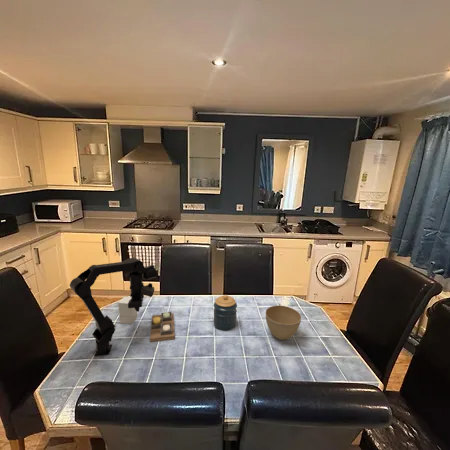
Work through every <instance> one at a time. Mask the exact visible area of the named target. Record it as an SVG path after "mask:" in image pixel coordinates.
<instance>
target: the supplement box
mask: <svg viewBox="0 0 450 450" xmlns="http://www.w3.org/2000/svg"><path fill="white" fill-rule="evenodd" d="M130 299H131V297H130V296H124V297H122V298H121V300H119V302H118V303H117V305H118V314H119V315H118V316H119V318H118V319H119V324H127V325H133V324H134V323H135V321H136V320H137V318H138V312H137V311H136V310H135V308H128V302H129V300H130Z"/></svg>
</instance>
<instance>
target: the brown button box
mask: <svg viewBox="0 0 450 450" xmlns="http://www.w3.org/2000/svg"><path fill="white" fill-rule="evenodd" d="M167 312H168V313H170V317H167V318H163V314H164V313H166V312H160V314H155V315H154V314H153V315H152V316H151V320H150V336H149V343H155V342H164V341H171V340H175V339H176V338H175V316H174V315H175V314H174V313H173V312H172V311H167ZM154 317H160V322H161V323H160V324H159V325H154V324H153V318H154ZM164 325H170V330H168V331H163V326H164Z"/></svg>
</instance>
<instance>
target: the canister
mask: <svg viewBox="0 0 450 450" xmlns="http://www.w3.org/2000/svg"><path fill="white" fill-rule="evenodd" d="M237 307H238V304H237V301H236V299H235V298H234V297H232V296H230V295H227V294H224V295H221V296H218V297H216V298H215V301H214V303H213V326H214V327H215V328H216V329H218V330H220V331H231V330H233V329H234V328H235V327H236V325H237V312H238V311H237Z"/></svg>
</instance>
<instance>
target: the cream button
mask: <svg viewBox="0 0 450 450" xmlns="http://www.w3.org/2000/svg"><path fill="white" fill-rule="evenodd" d="M168 330H170V325H164V326H163V331H168Z"/></svg>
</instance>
